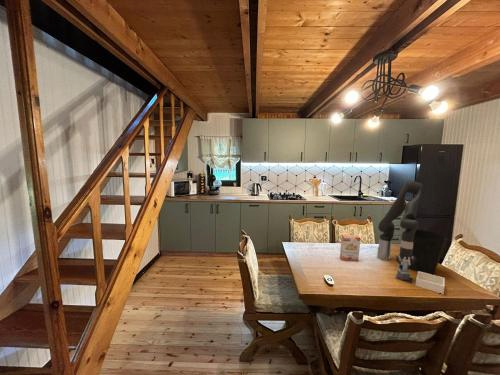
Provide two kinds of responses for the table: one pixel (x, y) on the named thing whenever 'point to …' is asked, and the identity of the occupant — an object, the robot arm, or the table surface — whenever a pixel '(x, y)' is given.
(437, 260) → the bucket
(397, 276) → the stud mount
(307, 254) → the table surface
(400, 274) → the knob
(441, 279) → the parts tray
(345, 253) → the cracker box
